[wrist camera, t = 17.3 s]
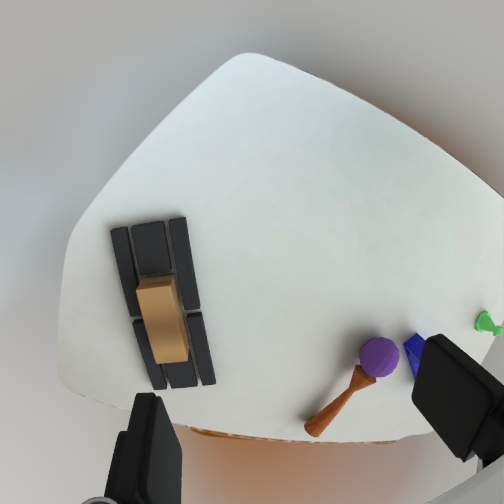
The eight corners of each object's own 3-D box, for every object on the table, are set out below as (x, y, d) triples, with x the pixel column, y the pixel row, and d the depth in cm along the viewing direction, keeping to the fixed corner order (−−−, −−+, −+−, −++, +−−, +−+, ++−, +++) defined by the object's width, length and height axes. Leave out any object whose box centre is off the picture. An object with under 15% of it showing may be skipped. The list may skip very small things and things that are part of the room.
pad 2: (134, 319, 38) (132, 324, 36) (201, 311, 38) (201, 316, 37) (155, 385, 41) (154, 390, 39) (215, 379, 41) (216, 384, 40)
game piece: (478, 312, 46) (498, 325, 40) (490, 309, 47) (510, 321, 41) (472, 332, 47) (491, 346, 42) (485, 328, 48) (503, 341, 42)
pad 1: (112, 228, 34) (109, 230, 33) (185, 217, 35) (185, 218, 34) (132, 312, 37) (130, 316, 36) (200, 304, 38) (200, 308, 37)
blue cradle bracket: (434, 369, 48) (452, 387, 42) (416, 384, 48) (432, 402, 42) (423, 327, 44) (444, 345, 39) (403, 343, 45) (422, 362, 39)
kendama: (298, 436, 42) (383, 344, 37) (296, 412, 48) (371, 324, 43) (327, 447, 42) (412, 359, 37) (324, 423, 48) (398, 340, 43)
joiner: (142, 277, 36) (135, 289, 32) (174, 273, 37) (170, 285, 33) (160, 347, 39) (156, 364, 35) (189, 344, 39) (187, 361, 36)
